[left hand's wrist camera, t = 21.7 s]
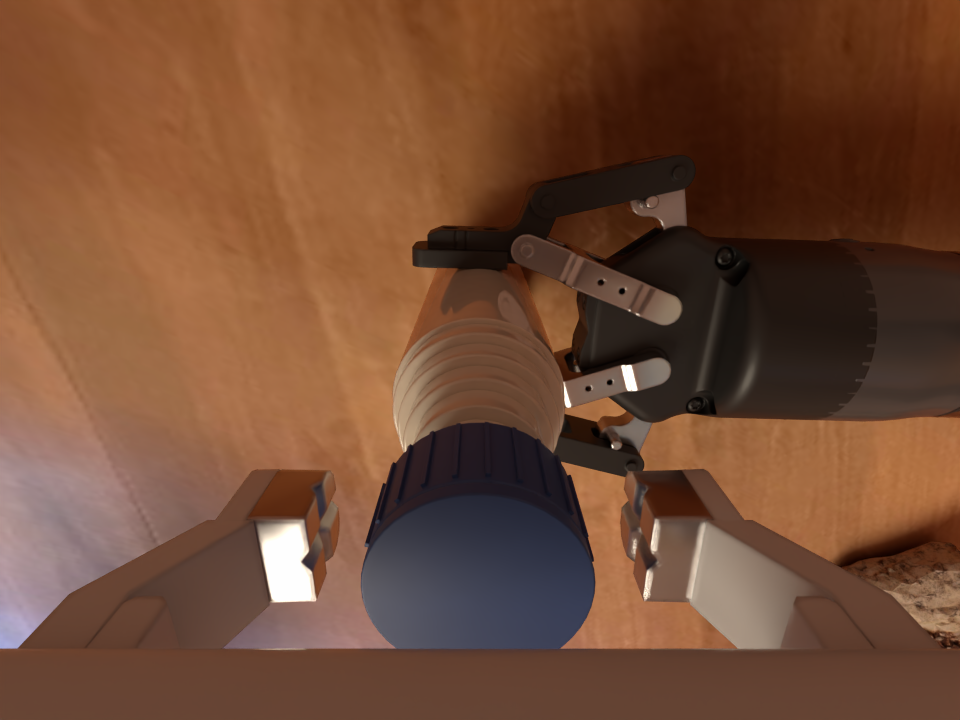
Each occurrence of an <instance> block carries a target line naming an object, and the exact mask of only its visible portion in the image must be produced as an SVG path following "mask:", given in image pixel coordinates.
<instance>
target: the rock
mask: <svg viewBox="0 0 960 720" xmlns="http://www.w3.org/2000/svg"><path fill="white" fill-rule="evenodd" d="M842 568H843V569H844V570H846V571H848V572H850V573H852V574H854V575H856V576H857V577H859V578H861V579H863V580H865V581H867V582H869V583H870V584H872V585H874V586H876V587H878V588H880V589H882V590H884V591H885V592H887V593H889V594H891V595H892V596H893V597H894V598H895V599H896V600H897V601H898V602H899V603H900V604H901V605H902V606H903V607H904V608H905V610H906V611H907V612H908V613H909V614H910V615H911V616H912V617H913V618H914V619H915V620H916V621H917V622H918V623H919V624H920V625H921V626H922V628H923V629H924V630H925V631H926V632H927V633H928V634H929V635H930V636H931V637H932V638H933V639H934V640H935V641H936V642H937V643H938V644H939V646H940V647H941V648H942V649H960V552H959V550H958V549H957V548H956V546H954V545H953V544H951V543H946V542H932V541H931V542H928V543H926V544H924V545H921V546H918V547H915V548H912V549H910V550H907V551H904V552H902V553H899V554H896V555H894V556H889V557H880V558H870V559H865V560H861V561H858V562H856V563H854V564H852V565H848V566H845V567H842Z"/></svg>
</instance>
